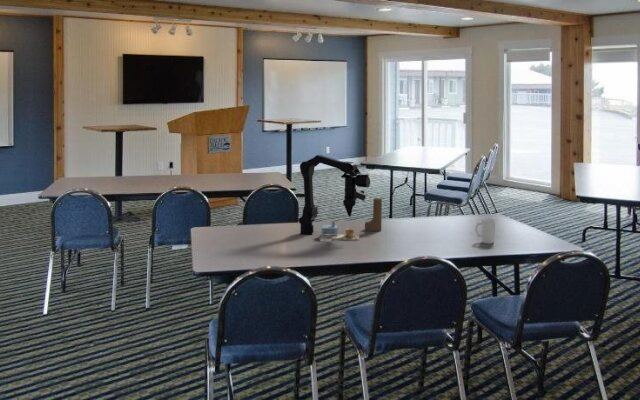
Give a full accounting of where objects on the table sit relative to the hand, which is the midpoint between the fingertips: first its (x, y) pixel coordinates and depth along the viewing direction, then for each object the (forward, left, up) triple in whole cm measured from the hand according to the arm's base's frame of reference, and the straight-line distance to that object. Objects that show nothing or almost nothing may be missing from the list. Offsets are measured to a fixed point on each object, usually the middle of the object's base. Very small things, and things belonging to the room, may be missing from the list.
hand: (349, 215), depth 383 cm
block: (0, 0, -12) cm, 12 cm away
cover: (-11, 0, -11) cm, 15 cm away
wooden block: (+12, +23, -12) cm, 29 cm away
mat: (-12, -8, -12) cm, 19 cm away
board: (-6, 0, -12) cm, 13 cm away
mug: (+70, -3, -12) cm, 71 cm away
